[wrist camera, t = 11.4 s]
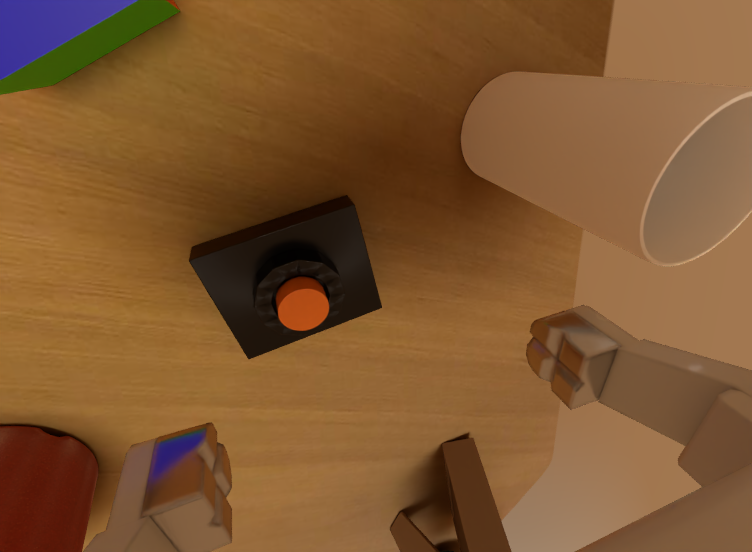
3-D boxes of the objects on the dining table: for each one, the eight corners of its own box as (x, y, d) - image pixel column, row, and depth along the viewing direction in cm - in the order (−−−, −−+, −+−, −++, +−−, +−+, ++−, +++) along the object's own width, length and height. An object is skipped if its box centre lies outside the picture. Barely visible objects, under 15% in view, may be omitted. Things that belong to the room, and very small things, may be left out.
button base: (347, 194, 28) (361, 213, 25) (374, 294, 34) (389, 319, 31) (191, 246, 27) (185, 273, 23) (247, 342, 32) (249, 375, 29)
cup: (463, 191, 31) (623, 288, 18) (457, 85, 27) (666, 116, 14) (545, 164, 33) (749, 238, 20) (553, 60, 28) (826, 66, 15)
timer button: (316, 269, 27) (320, 281, 25) (330, 306, 29) (335, 319, 27) (268, 286, 26) (270, 300, 25) (285, 323, 28) (288, 337, 27)
